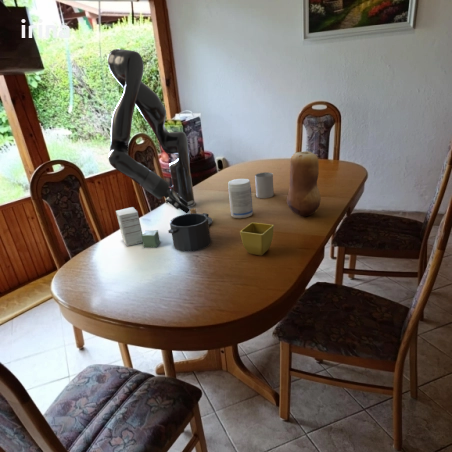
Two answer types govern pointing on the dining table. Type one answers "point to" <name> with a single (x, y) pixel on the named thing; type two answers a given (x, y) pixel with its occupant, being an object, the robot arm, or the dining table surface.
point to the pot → (190, 232)
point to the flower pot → (257, 237)
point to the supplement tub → (240, 198)
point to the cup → (264, 185)
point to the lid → (196, 212)
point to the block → (150, 239)
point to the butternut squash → (304, 184)
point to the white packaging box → (130, 226)
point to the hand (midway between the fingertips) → (187, 208)
